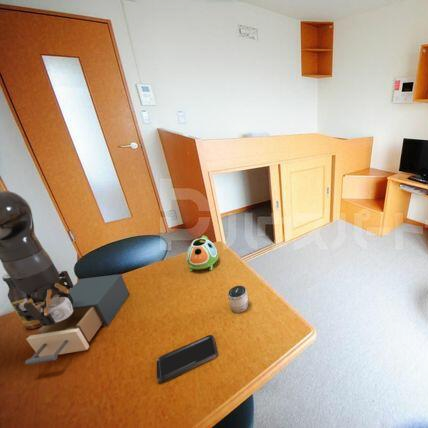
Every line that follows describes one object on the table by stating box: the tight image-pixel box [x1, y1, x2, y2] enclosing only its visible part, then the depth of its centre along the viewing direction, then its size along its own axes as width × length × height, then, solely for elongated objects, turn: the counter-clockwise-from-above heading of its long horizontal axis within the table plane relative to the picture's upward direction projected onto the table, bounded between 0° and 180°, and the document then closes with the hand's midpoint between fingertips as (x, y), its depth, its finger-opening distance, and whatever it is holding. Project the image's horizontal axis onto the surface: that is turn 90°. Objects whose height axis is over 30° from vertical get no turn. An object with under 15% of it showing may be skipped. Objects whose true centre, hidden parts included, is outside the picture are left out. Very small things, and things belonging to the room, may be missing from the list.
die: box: [41, 296, 73, 323], centre depth 68 cm, size 5×5×5 cm
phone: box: [156, 334, 219, 384], centre depth 68 cm, size 8×1×15 cm
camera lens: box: [227, 285, 249, 314], centre depth 85 cm, size 6×6×8 cm
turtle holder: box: [185, 235, 219, 272], centre depth 108 cm, size 12×18×12 cm
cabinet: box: [70, 273, 130, 328], centre depth 81 cm, size 15×13×10 cm
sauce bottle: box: [1, 272, 44, 330], centre depth 75 cm, size 6×6×20 cm
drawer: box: [24, 306, 103, 366], centre depth 70 cm, size 19×11×8 cm, turn 13°
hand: (60, 314), depth 68 cm, fingers closed on die, 6 cm apart
